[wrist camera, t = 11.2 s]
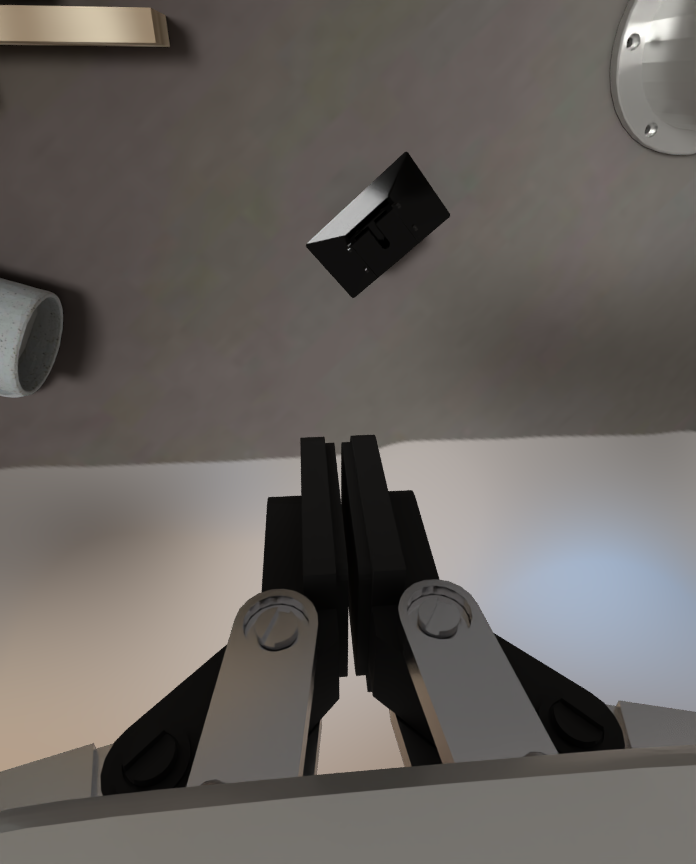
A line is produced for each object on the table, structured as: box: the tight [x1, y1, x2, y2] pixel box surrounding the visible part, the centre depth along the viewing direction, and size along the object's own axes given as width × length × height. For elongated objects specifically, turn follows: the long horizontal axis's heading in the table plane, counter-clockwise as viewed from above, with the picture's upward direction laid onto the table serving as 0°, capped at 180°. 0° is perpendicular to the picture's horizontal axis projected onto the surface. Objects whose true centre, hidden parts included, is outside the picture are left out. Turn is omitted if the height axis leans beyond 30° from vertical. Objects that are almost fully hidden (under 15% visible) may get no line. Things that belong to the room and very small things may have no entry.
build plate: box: [306, 152, 450, 298], centre depth 38 cm, size 12×7×5 cm, turn 130°
